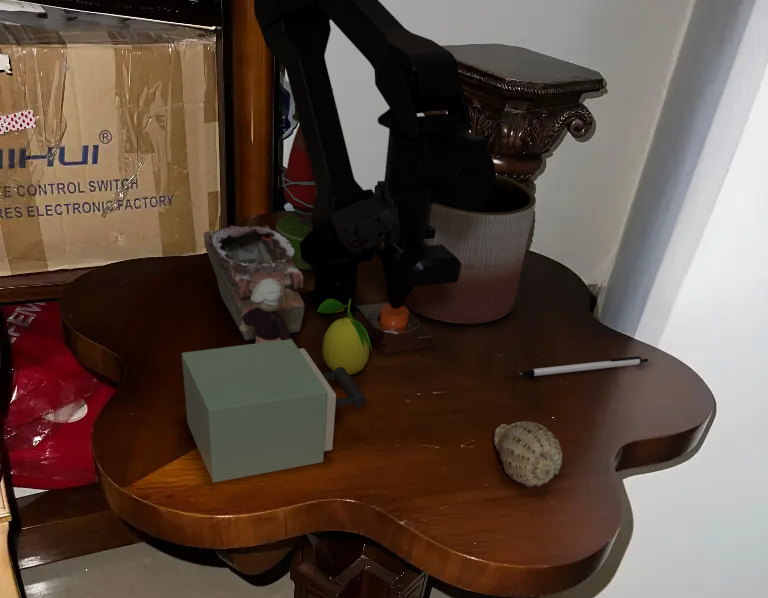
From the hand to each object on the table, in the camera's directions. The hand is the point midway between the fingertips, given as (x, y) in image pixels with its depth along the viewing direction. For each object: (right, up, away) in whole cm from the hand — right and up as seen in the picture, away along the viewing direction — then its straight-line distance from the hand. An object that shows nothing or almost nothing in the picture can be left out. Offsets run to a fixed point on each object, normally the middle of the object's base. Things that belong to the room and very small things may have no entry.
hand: (395, 306), depth 97 cm
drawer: (-12, -17, -14) cm, 25 cm away
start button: (0, -2, +1) cm, 2 cm away
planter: (+8, +5, +15) cm, 18 cm away
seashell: (+13, -21, -14) cm, 28 cm away
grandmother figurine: (-15, -11, -6) cm, 19 cm away
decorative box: (-21, +1, +7) cm, 22 cm away
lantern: (-13, +14, +22) cm, 29 cm away
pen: (+25, -8, +3) cm, 26 cm away
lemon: (-6, -9, -3) cm, 12 cm away
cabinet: (-15, -18, -15) cm, 28 cm away
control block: (0, -2, +6) cm, 6 cm away
